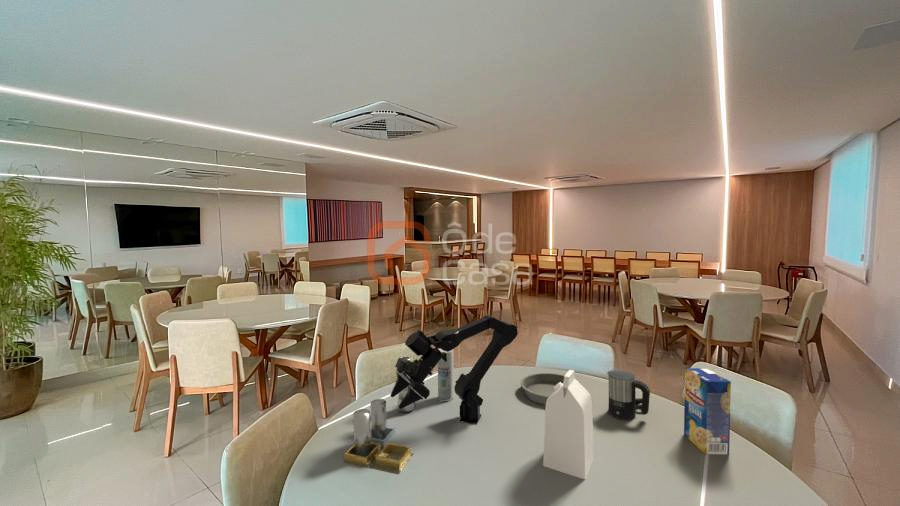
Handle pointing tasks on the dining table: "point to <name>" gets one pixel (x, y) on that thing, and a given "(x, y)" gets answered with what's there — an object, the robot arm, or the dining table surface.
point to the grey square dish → (390, 435)
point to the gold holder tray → (381, 457)
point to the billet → (378, 419)
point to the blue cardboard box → (707, 410)
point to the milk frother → (626, 395)
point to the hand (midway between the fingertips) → (395, 402)
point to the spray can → (446, 378)
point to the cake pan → (540, 385)
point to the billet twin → (362, 432)
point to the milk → (569, 428)
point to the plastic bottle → (402, 395)
